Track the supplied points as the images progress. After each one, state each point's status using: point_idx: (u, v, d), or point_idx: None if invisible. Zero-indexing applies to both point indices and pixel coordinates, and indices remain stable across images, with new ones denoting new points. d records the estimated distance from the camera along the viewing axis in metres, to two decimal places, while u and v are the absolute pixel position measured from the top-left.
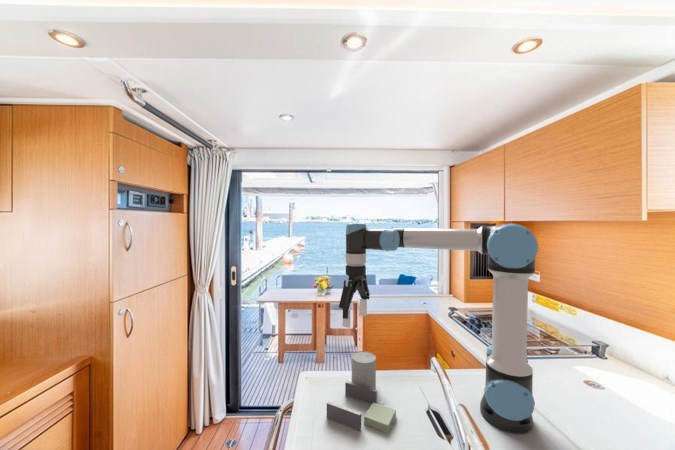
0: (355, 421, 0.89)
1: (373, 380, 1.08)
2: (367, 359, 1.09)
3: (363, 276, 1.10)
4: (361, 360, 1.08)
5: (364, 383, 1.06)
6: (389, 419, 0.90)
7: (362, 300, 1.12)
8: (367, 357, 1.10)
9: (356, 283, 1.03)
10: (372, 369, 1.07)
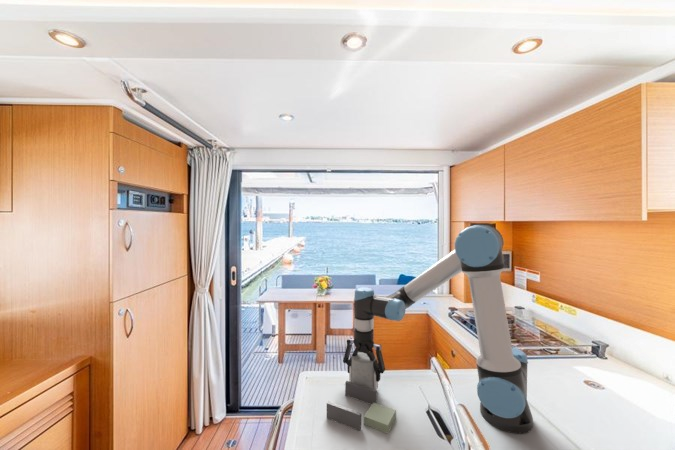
0: (355, 421, 0.89)
1: (373, 380, 1.08)
2: (367, 359, 1.09)
3: None
4: (361, 360, 1.08)
5: (363, 383, 1.06)
6: (389, 419, 0.90)
7: None
8: (367, 357, 1.10)
9: (357, 345, 1.10)
10: (372, 369, 1.07)
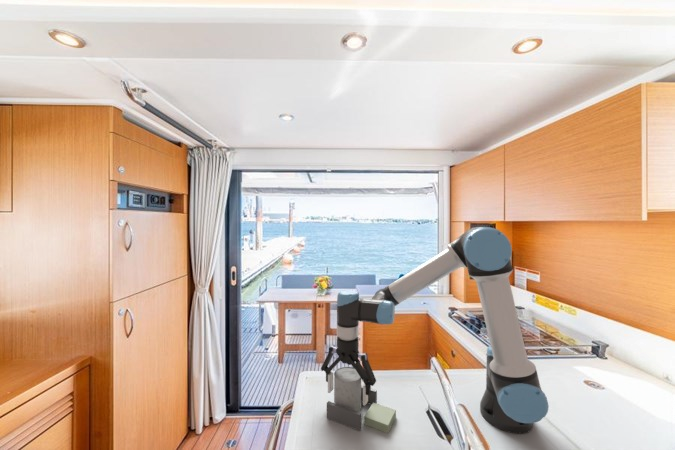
0: (355, 421, 0.89)
1: (358, 401, 0.95)
2: (351, 377, 0.97)
3: None
4: (344, 378, 0.96)
5: (347, 404, 0.94)
6: (389, 419, 0.90)
7: None
8: (352, 375, 0.98)
9: (340, 355, 0.98)
10: (357, 388, 0.95)
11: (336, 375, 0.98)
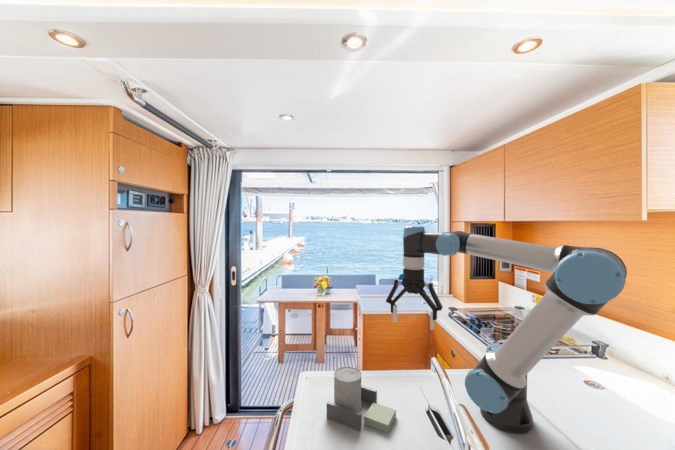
0: (355, 421, 0.89)
1: (358, 401, 0.95)
2: (351, 377, 0.97)
3: (428, 284, 1.02)
4: (344, 378, 0.96)
5: (347, 404, 0.94)
6: (389, 419, 0.90)
7: None
8: (352, 375, 0.98)
9: (406, 285, 1.05)
10: (357, 388, 0.95)
11: (336, 375, 0.98)
